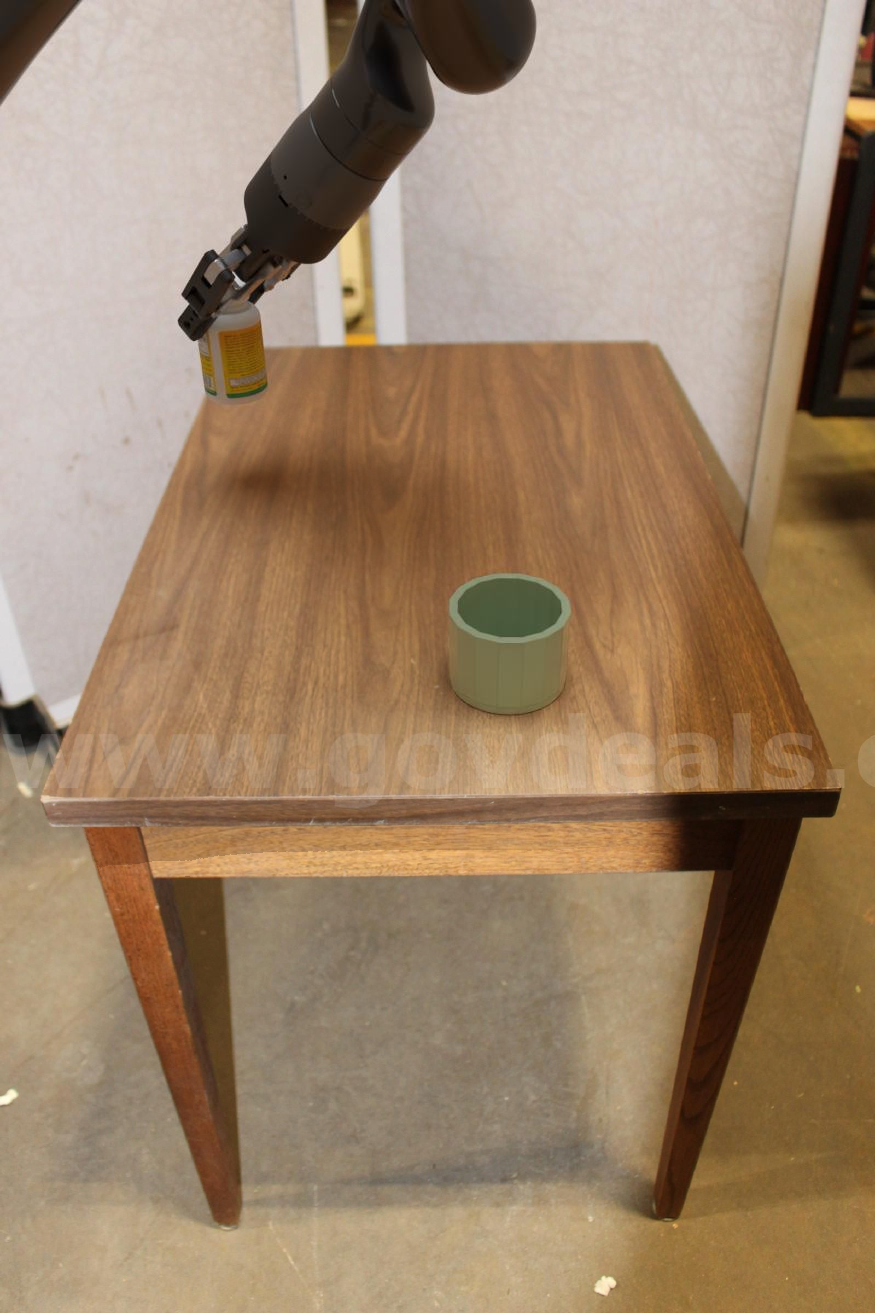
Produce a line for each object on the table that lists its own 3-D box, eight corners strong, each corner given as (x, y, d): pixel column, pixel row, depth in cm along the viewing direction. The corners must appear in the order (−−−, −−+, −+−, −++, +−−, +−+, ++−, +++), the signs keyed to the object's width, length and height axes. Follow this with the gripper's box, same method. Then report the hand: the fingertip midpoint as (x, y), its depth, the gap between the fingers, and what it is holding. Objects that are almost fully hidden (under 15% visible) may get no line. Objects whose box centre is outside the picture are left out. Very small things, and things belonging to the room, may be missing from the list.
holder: (476, 727, 70) (477, 654, 66) (432, 658, 76) (431, 587, 72) (585, 697, 72) (592, 625, 68) (534, 632, 78) (538, 563, 74)
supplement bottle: (194, 402, 90) (176, 288, 85) (224, 378, 94) (209, 268, 89) (251, 410, 89) (237, 294, 83) (279, 385, 93) (267, 274, 87)
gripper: (339, 119, 81) (233, 259, 93) (222, 159, 71) (120, 309, 83) (401, 201, 82) (289, 328, 94) (295, 251, 72) (184, 386, 84)
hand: (210, 319), depth 89 cm, fingers closed on supplement bottle, 5 cm apart
